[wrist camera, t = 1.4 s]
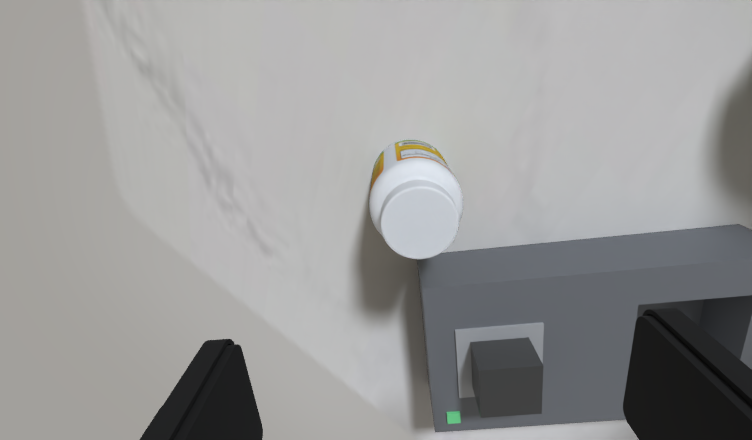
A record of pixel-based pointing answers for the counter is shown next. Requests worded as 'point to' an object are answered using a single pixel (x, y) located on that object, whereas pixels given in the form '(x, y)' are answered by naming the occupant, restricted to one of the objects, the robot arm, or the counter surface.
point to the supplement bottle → (415, 199)
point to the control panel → (570, 320)
